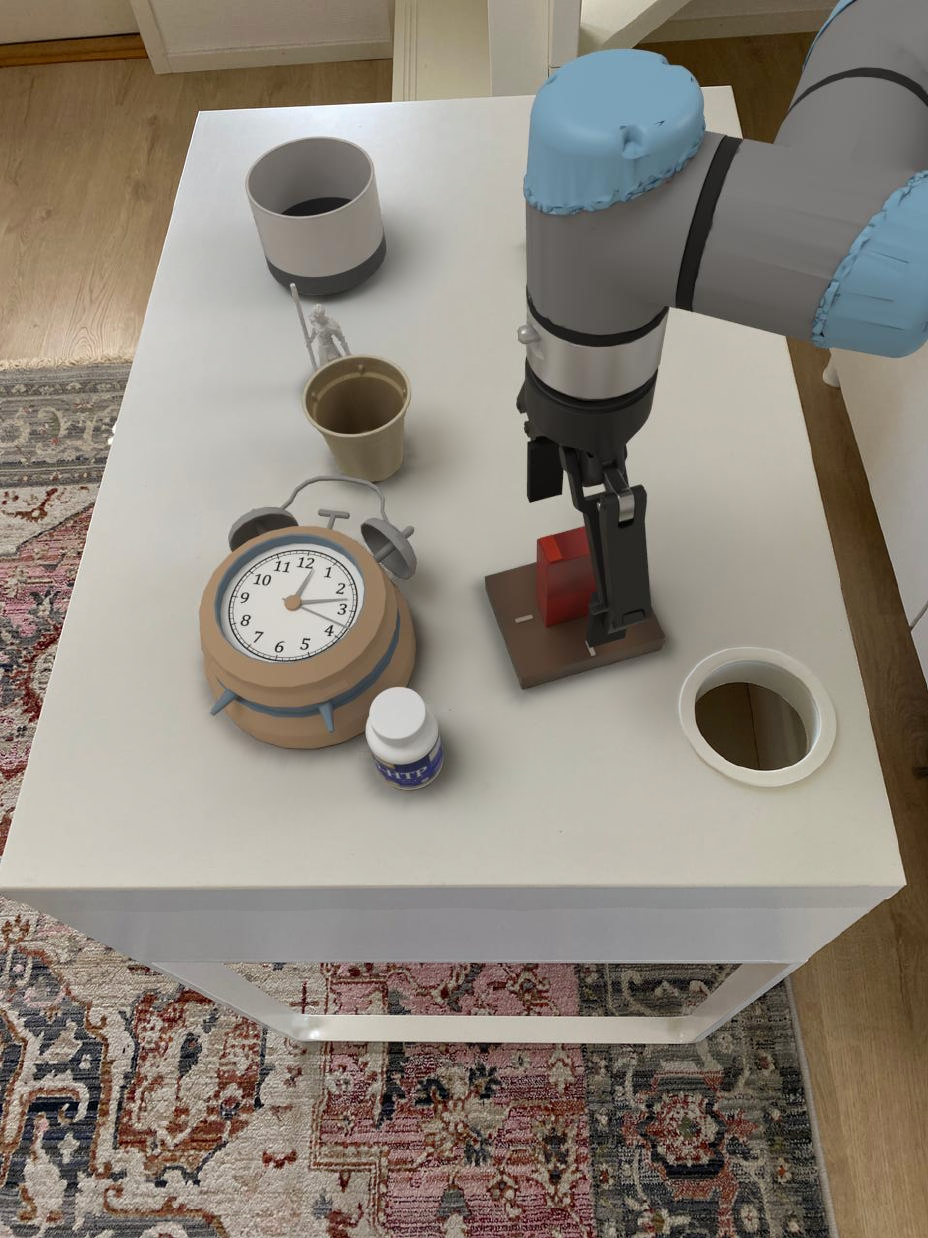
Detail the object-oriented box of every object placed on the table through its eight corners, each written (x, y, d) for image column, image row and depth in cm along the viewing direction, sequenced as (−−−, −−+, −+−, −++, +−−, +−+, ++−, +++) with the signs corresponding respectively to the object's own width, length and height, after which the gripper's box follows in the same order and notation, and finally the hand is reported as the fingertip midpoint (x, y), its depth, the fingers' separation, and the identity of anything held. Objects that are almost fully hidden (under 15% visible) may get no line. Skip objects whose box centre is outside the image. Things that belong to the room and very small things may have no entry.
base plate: (618, 551, 81) (620, 536, 79) (662, 648, 76) (666, 635, 74) (485, 588, 80) (484, 575, 78) (521, 689, 75) (521, 677, 73)
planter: (247, 264, 103) (219, 177, 93) (339, 208, 106) (321, 120, 97) (317, 322, 97) (295, 236, 88) (412, 262, 101) (400, 174, 92)
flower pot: (410, 504, 85) (399, 440, 77) (310, 494, 86) (289, 431, 79) (429, 425, 90) (420, 357, 82) (333, 417, 91) (315, 350, 83)
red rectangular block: (599, 583, 77) (607, 517, 69) (610, 608, 76) (619, 543, 68) (535, 601, 77) (536, 536, 69) (545, 627, 75) (547, 564, 67)
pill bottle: (370, 787, 72) (351, 743, 64) (383, 724, 74) (366, 674, 67) (439, 795, 71) (428, 751, 63) (449, 731, 74) (440, 681, 66)
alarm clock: (142, 684, 67) (237, 436, 78) (184, 735, 75) (264, 503, 86) (375, 717, 64) (438, 456, 76) (392, 766, 72) (447, 523, 84)
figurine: (301, 397, 92) (272, 300, 82) (328, 361, 94) (303, 262, 84) (347, 413, 91) (324, 316, 80) (373, 376, 93) (353, 277, 83)
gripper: (465, 232, 58) (478, 453, 77) (608, 549, 46) (582, 722, 65) (579, 205, 59) (565, 431, 78) (749, 510, 47) (685, 692, 65)
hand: (573, 563), depth 71 cm, fingers open, 13 cm apart
